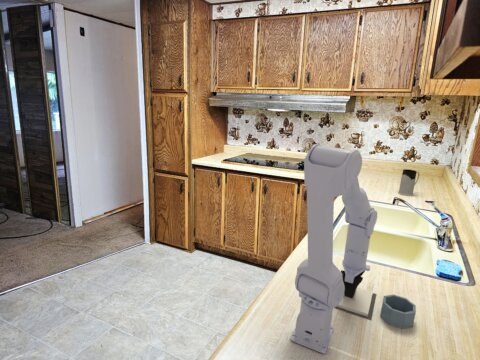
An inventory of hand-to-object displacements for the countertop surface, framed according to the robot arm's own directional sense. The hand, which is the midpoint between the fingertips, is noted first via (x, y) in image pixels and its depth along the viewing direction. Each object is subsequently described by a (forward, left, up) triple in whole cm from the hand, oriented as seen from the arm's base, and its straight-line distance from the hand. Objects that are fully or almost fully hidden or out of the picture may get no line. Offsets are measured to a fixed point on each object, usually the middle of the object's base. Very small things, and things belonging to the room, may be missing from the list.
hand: (349, 293), depth 87 cm
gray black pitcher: (+136, -13, -2) cm, 137 cm away
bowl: (-2, -12, -2) cm, 12 cm away
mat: (0, 0, -2) cm, 2 cm away
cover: (0, 0, -2) cm, 2 cm away
